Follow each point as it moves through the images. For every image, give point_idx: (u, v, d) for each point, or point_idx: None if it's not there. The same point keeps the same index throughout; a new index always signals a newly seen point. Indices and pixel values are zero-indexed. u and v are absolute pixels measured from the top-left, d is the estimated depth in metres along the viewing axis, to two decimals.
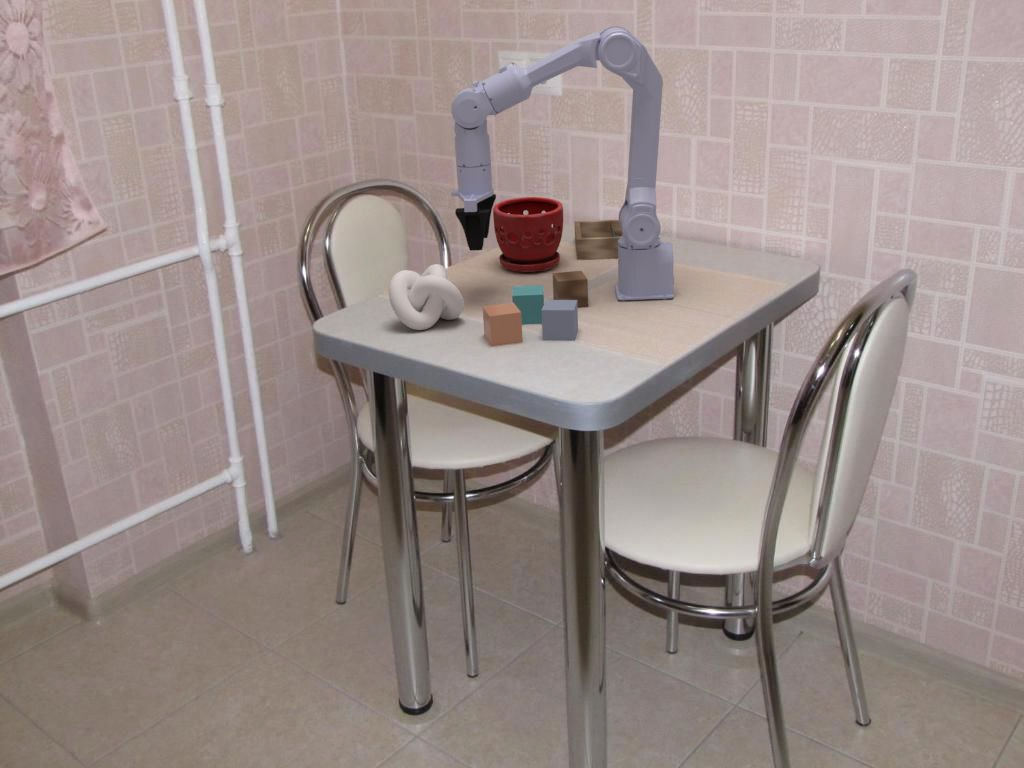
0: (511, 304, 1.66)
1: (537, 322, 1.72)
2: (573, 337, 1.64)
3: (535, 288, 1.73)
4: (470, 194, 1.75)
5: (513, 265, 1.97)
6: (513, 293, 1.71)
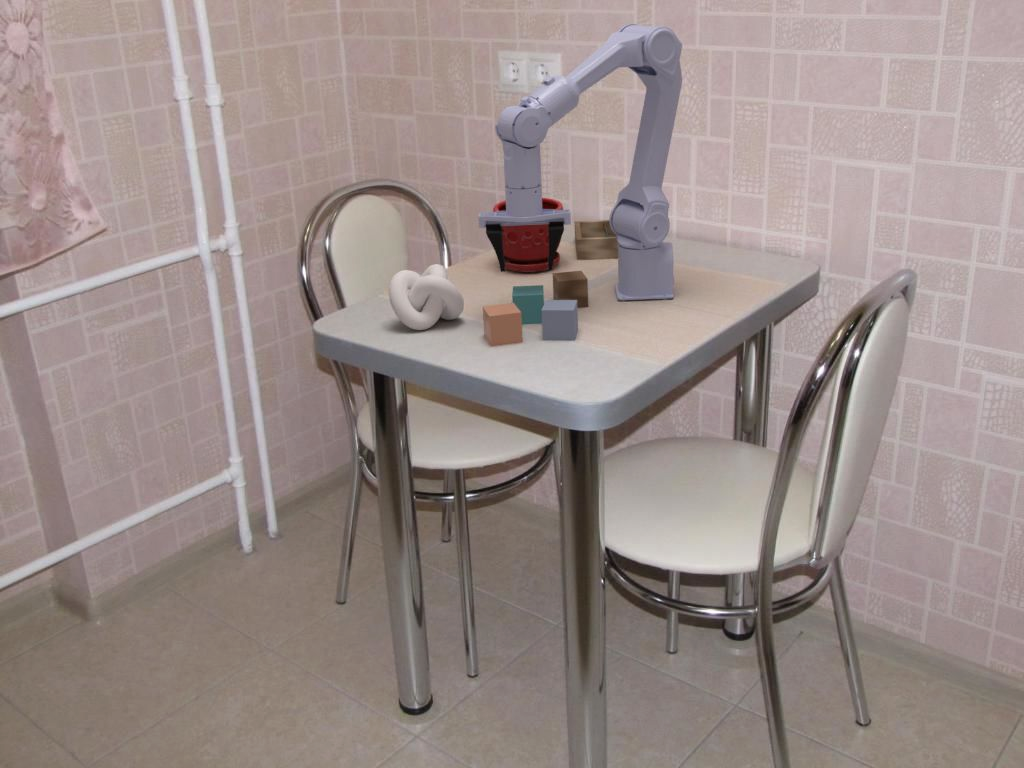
0: (511, 304, 1.66)
1: (537, 322, 1.72)
2: (573, 337, 1.64)
3: (535, 288, 1.73)
4: (505, 213, 1.68)
5: (513, 265, 1.97)
6: (513, 293, 1.71)
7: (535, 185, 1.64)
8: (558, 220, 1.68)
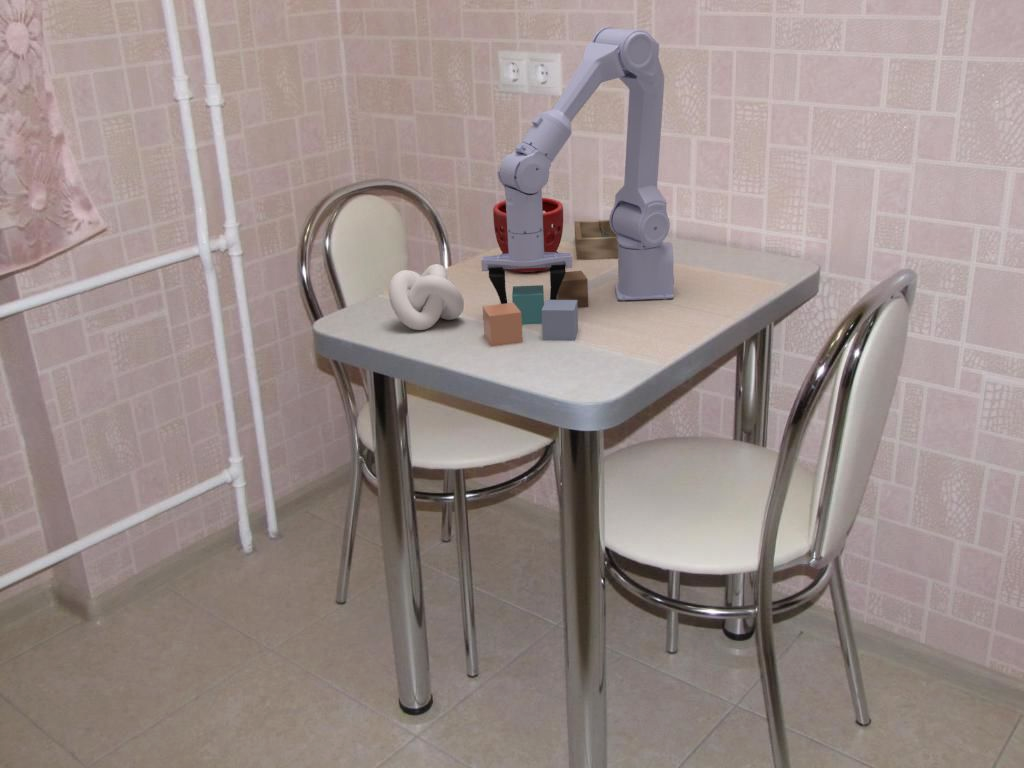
0: (511, 304, 1.66)
1: (537, 322, 1.72)
2: (573, 337, 1.64)
3: (535, 288, 1.73)
4: (508, 256, 1.71)
5: None
6: (513, 293, 1.71)
7: (537, 230, 1.67)
8: (560, 263, 1.70)
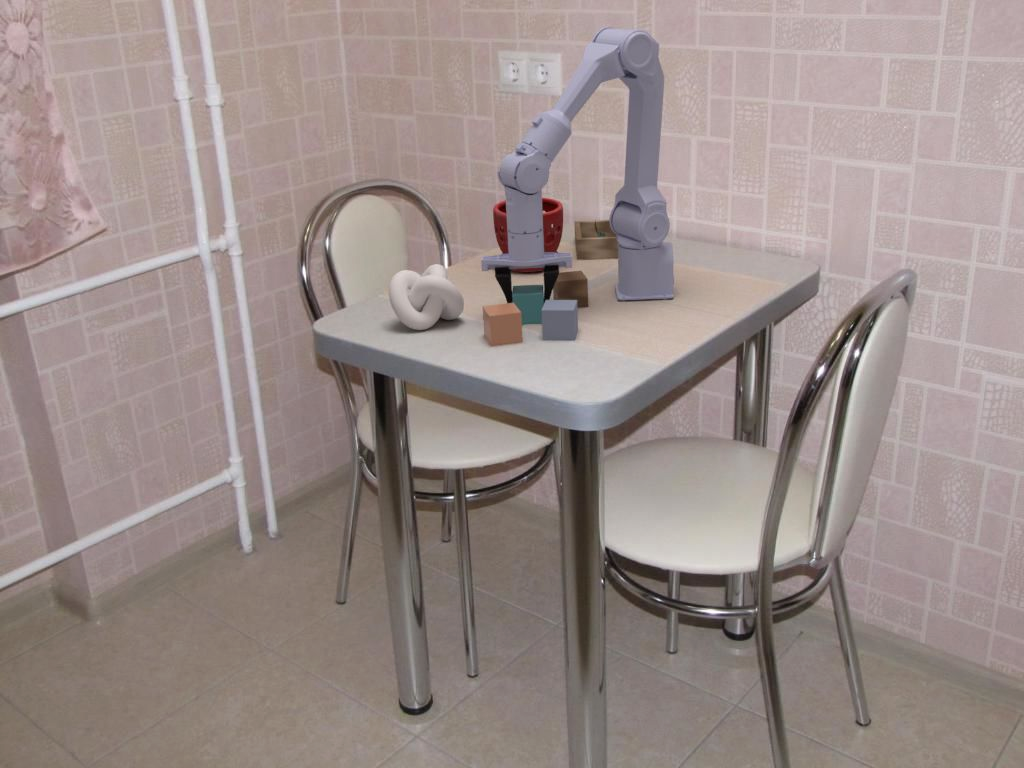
0: (511, 304, 1.66)
1: (537, 321, 1.72)
2: (573, 337, 1.64)
3: (535, 288, 1.73)
4: (508, 256, 1.71)
5: None
6: (513, 292, 1.71)
7: (537, 230, 1.67)
8: (560, 263, 1.70)
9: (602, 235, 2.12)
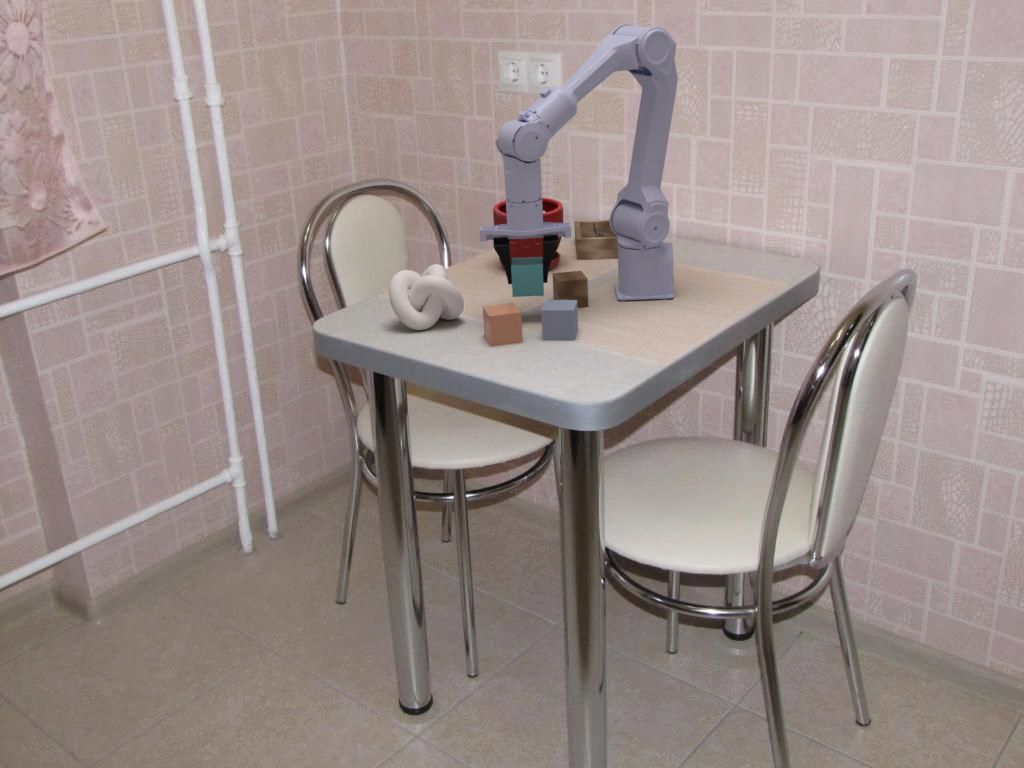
0: (511, 304, 1.66)
1: (536, 294, 1.70)
2: (573, 337, 1.64)
3: (534, 260, 1.71)
4: (506, 226, 1.69)
5: None
6: (512, 264, 1.70)
7: (536, 199, 1.65)
8: (559, 233, 1.68)
9: (601, 236, 2.12)
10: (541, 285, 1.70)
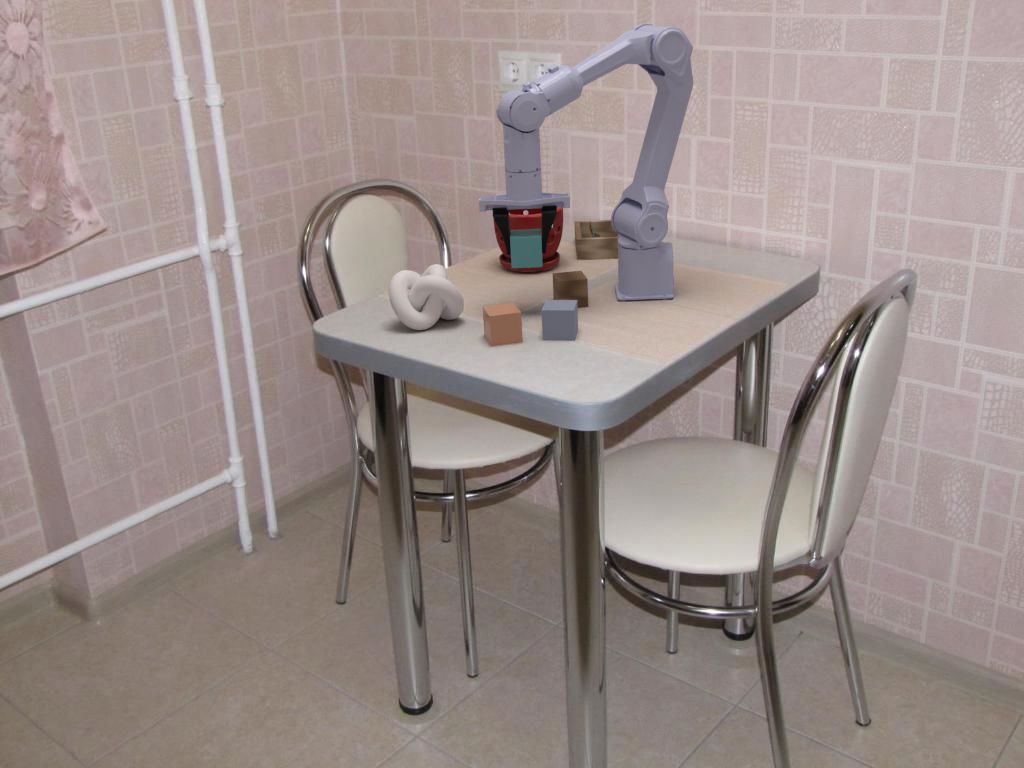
0: (511, 304, 1.66)
1: (535, 265, 1.71)
2: (573, 337, 1.64)
3: (533, 232, 1.72)
4: (505, 197, 1.70)
5: None
6: (511, 236, 1.71)
7: (533, 169, 1.66)
8: (557, 204, 1.70)
9: (597, 236, 2.12)
10: (540, 256, 1.71)
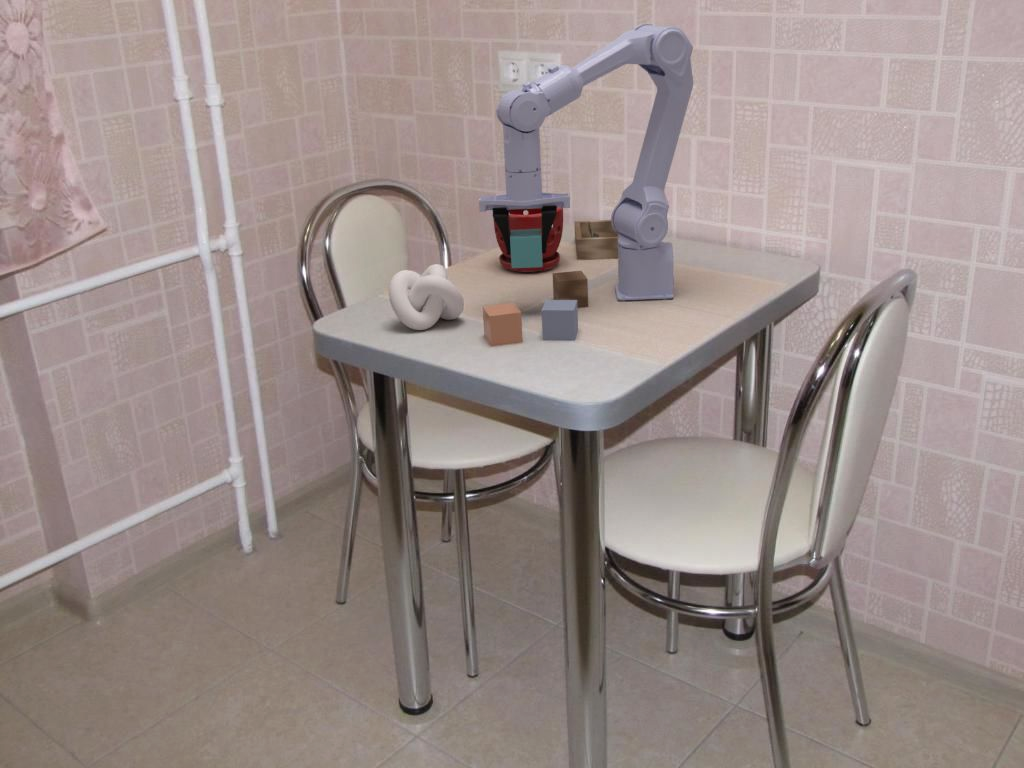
0: (511, 304, 1.66)
1: (535, 265, 1.71)
2: (573, 337, 1.64)
3: (533, 232, 1.72)
4: (505, 197, 1.70)
5: None
6: (511, 236, 1.71)
7: (533, 169, 1.66)
8: (557, 204, 1.70)
9: (596, 236, 2.12)
10: (540, 256, 1.71)
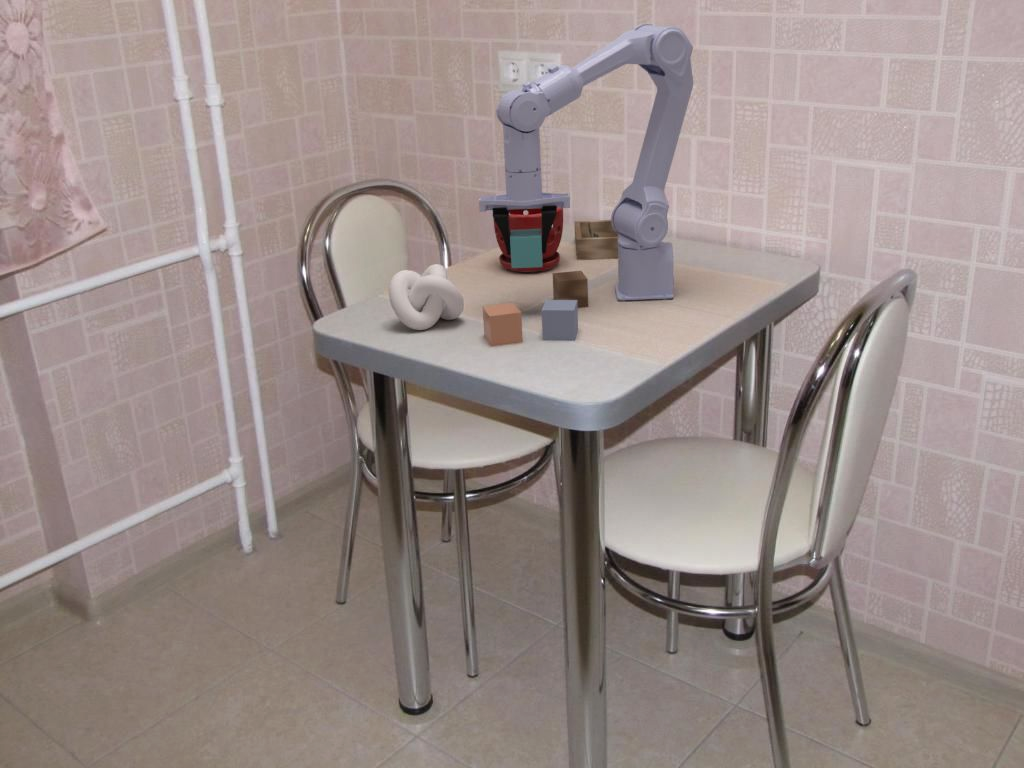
0: (511, 304, 1.66)
1: (535, 265, 1.71)
2: (573, 337, 1.64)
3: (533, 232, 1.72)
4: (505, 197, 1.70)
5: None
6: (511, 236, 1.71)
7: (533, 169, 1.66)
8: (557, 204, 1.70)
9: (596, 236, 2.12)
10: (540, 256, 1.71)
